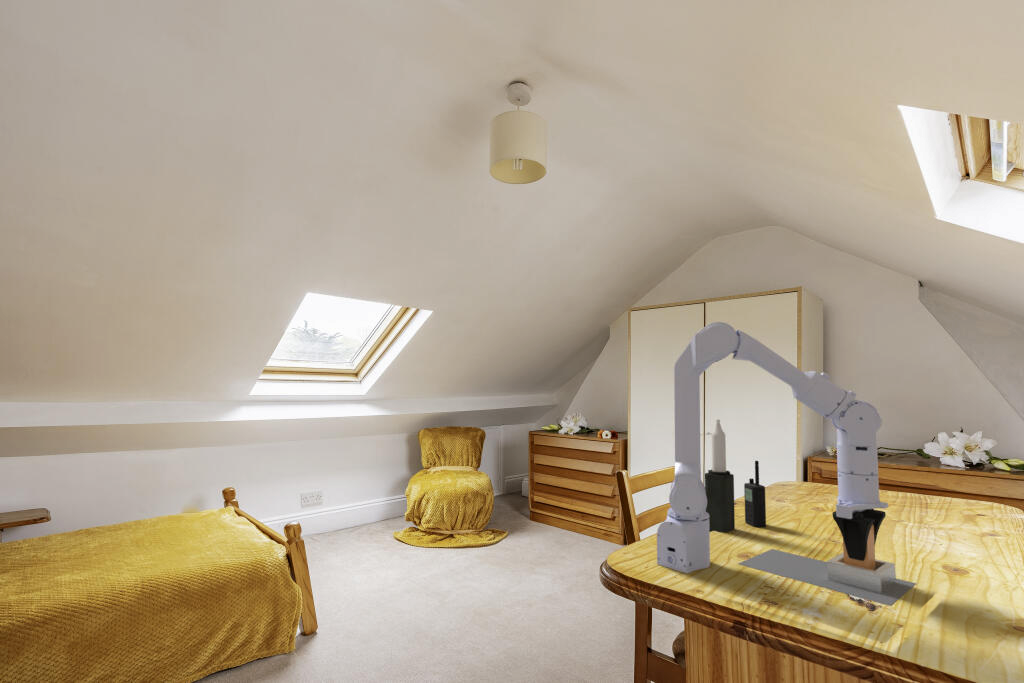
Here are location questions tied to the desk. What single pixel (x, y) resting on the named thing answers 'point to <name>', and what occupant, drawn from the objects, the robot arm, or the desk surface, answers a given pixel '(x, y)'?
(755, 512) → the walkie-talkie
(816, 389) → the robot arm
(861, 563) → the connector plug
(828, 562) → the end holder
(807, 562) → the mat
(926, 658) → the desk surface
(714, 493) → the black nozzle bottle
